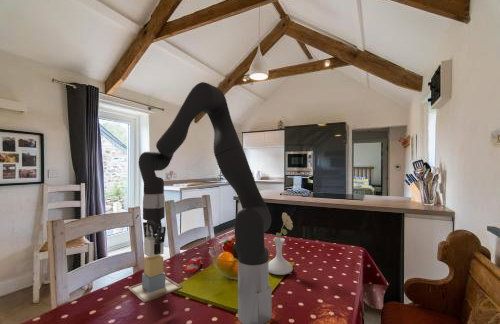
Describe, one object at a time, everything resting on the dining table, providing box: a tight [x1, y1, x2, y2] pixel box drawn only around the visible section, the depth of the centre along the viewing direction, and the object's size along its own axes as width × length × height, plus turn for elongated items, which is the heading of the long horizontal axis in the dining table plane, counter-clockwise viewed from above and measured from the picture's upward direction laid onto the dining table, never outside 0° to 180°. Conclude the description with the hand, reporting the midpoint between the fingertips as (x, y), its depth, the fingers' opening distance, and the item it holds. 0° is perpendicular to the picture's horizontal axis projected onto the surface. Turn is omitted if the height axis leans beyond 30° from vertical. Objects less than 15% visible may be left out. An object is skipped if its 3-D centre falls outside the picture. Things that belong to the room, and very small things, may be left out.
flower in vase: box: [269, 212, 294, 276], centre depth 108 cm, size 13×11×25 cm
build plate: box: [127, 275, 183, 304], centre depth 92 cm, size 14×14×1 cm
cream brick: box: [143, 236, 165, 257], centre depth 93 cm, size 5×5×6 cm
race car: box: [183, 257, 202, 274], centre depth 111 cm, size 13×5×4 cm, turn 176°
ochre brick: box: [143, 254, 164, 278], centre depth 92 cm, size 5×5×6 cm
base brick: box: [141, 271, 166, 293], centre depth 92 cm, size 6×6×5 cm
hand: (153, 252), depth 92 cm, fingers closed on cream brick, 4 cm apart
